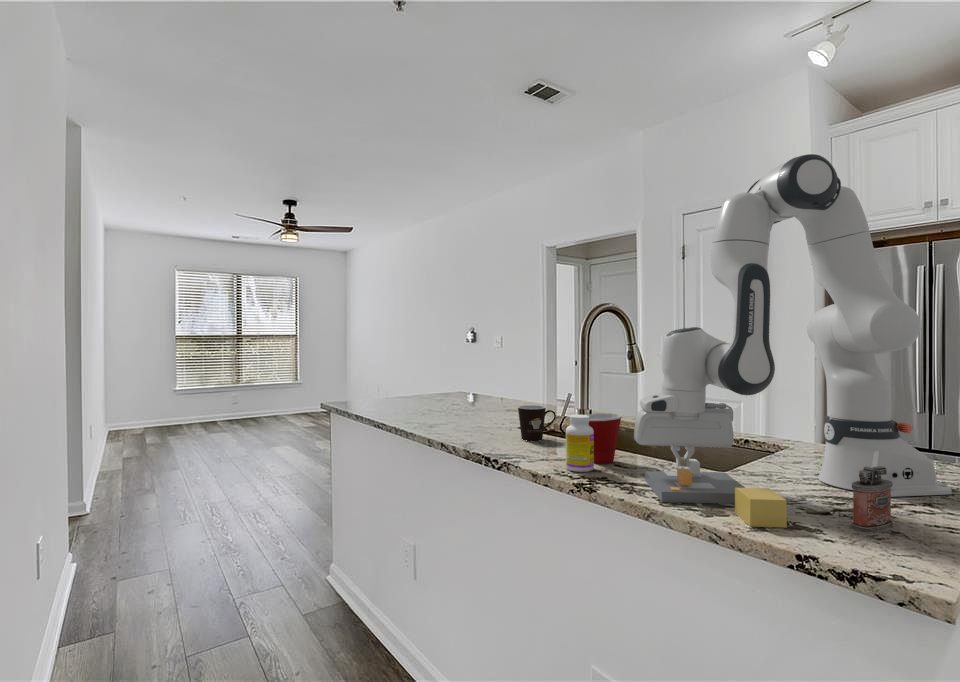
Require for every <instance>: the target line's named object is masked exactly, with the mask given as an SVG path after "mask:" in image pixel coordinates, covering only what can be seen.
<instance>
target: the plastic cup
mask: <svg viewBox="0 0 960 682" xmlns="http://www.w3.org/2000/svg"><path fill="white" fill-rule="evenodd" d="M586 415H587V416H589V417H590V421H589V426H590V427H592V428H593V430H594V464H599V465H610V464H613V463H614V460H615V455H616V450H617V445H618V444H617V443H618V439H619V438H618V437H619V431H620V424H621V421H622V418H623V414H620V413H613V412H611V413H610V412H609V413H608V412H607V413H606V412H603V413H600V412H599V413H590V414H586Z"/></svg>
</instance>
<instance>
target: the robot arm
mask: <svg viewBox="0 0 960 682" xmlns="http://www.w3.org/2000/svg"><path fill="white" fill-rule="evenodd" d="M791 218H792V219H793V218H795V219H796V220H797V221H799V222H800V224H801V225H802V227H803V230H804V233H805V239H806V244H807V247H808V253H809V257H810V262H811V266H812V270H813V276H814V279H815V280H816V282H817V283H818V284H819V285H820V286H821V287H822V288H824V290H825V291H827V293H828V295H829V296H830V298H831V299H832V301H833V303H832V304H830V305H827V306H825V307H823V308H820V309H818V310H816V311H815V312H814V313H812V314H811V316H810V317H809V318H808V321H807V324H806V333H807V335H808V338H809V339H810V341H811V342H812V343H813V344H814V346H815V347H816V348H817V351H818V354H819V359H820V360H821V364H822V368H823V371H824V376H825V381H826V382H825V383H826V415H824V430H823V431H824V434H823V435H824V441H825V446H824V447H825V448H824V455H823V460H822V463H821V467H820V471H819V474H818V476H817V479H818V480H819V481H820V482H823V483H824V484H827V485H829V486H833V487H836V488H841V489H845V490H850V491H853V489H852V483H854V482H856V481H860V477H859V471H861V470H863V468H864V467H871V468H873V467H877V466H883V467H885V468H887V475H882V476H881V477H882V479H885V480H889V481H892V487H891V498H892V497H916V496H919V497H920V496H943V495H946V496H947V495H952V494H953V489H952V488H951V487H950V486H948V485H947V484H945V483H943V482H941V481H938V480H937V473H936V469H935V466H934V463H933V461H932V460H931V459H930V458H929V457H928V456H926V455H925V454H924V453H922V452H921V451H919V450H918V449H916V448H915V447H914V446H913V445H912V444H911V445H910V444H909V443H908V442H906V441H905V440H904V439H903V438H901V433H904V434H911V433H912V432H913V430H914V428H913V426H912V424H910V423H907V422H903V421H902V422H899V423H898V422H897V421H895V420H893V419H892V416H891V415H892V385H891V382H890V380H889V378H888V377H887V376H886V375H885V374H884V373H883V371H881V369H880V366H879V364H878V361H877V358H876V355H882V354H888V353H893V352H897V351H901V350H906V349H907V348H909V347H910V346H911V345H913V344H914V343H915V342H916V340H917V339H918V338H919V335H920V331H921V325H922V324H921V320H920V317H919V314H918V313H917V312H916V310H915V309H913V307H911V306H910V305H908V304H906V303H905V302H904V301H902V299H900V298H899V297H898V296H897V294H896V293H895V292H894V290H893V289H892V288H891V286H890V285H889V283H888V281H887V280H886V278H885V277H884V274H883V273H882V270H881V268H880V266H879V264H878V260H877V259H878V258H877V255H876V252H875V249H874V245H873V239H872V237H871V236H872V235H871V232H870V231H871V230H870V227H869V224H868V220H867V217H866V215H865V211H864V209H863V207H862V204H861V201H860V199H859V198H858V196H857V194H856V192H855V191H854V190H853V189H851V188H850V187H846V186H843V185H842V182H841V179H840V177H838V174H837V171H836V169H835V168H834V166H833V165H832V163H831V162H830V161H829V160H828V159H827V158H825V157H824V156H821V155H819V154H815V153H814V154H803V155H798V156H795V157H793V158H791V159H789V160H788V161H786V162H785V163H782V164H780V165H778V166H776V167H775V168H773V169H771V170H770V171H768V173H767V174H765V175H764V176H763V177H762V178H760V179H758V180H757V181H755V182H754V183H753V184H752V185H751V186H750V187H749V189H748V190H747V192H741V193H737V194H734V195H731V196H730V197H728V198H727V199H726V200H725V201H724V202H723V203H722V205H721V207H720V210H719V212H718V215H717V219H716V224H715V227H714V232H713V237H712V243H711V250H710V268H711V269H710V270H711V273H712V275H713V277H714V279H716V281H718V283H720V284H721V285H723V286H724V287H726V288H727V289H728V290H729V291H730V293H731V294H732V298H733V300H734V301H733V303H734V313H733V333H732V334H733V335H732V339H731V342H729V343H728V342H726V341H723V340H721V339H718V338H716V337H715V336H712V334H711V335H710V334H709V333H707V332H706V331H705V330H703V328H701V327H698V326H696V327H695V326H691V327H687V328H686V327H685V328H683V327H682V328H680V329H679V328H678V329H674V330H671V331H669V332H668V333H667V334H666V336H665V338H664V341H663V347H662V359H661V360H662V361H661V362H662V363H661V364H662V365H661V370H662V374H663V381H662V385H661V393H660V392H659V393H658V394H654V395H650V396H645V397H644V398H641V399H640V401H639V406H640V408H641V409H639V411H638V412H637V414H636V416H635V417H636V418H635V423H634V428H633V429H634V430H633V438H634V441H636V443H637V444H638V445H640V446H663V447H664V446H665V447H668V446H669V447H670V450H671V452H672V453H673V455H674V457H675V464H676V467H677V468H678V467H679V468H680V467H683V468H686V467H689V459H692V456H693V455H694V453H695V452H696V448H695V447H697V448H698V447H701V448H702V447H703V448H704V447H705V448H706V447H708V448H731V447H732V446H733V444H734V442H735V438H734V437H735V436H734V428H733V421H734V410H733V408H732V407H731V406H730V405H727V403H724V402H720V403H714V402H706V400H707V399H706V398H707V397H706V392H707V391H706V388H707V386H708V385H712V386H714V387H715V386H716V387H719V388H721V389H725V390H729V391H731V392H733V393H735V394H738V395H741V396H754V395H757V394H759V393H761V392H763V391H765V389H767V388H768V387H769V386H770V384H771V382H772V381H773V379H774V377H775V371H776V365H775V360H774V355H773V353H772V350H771V345H770V344H771V343H770V321H771V320H770V319H771V318H770V317H771V316H770V315H771V281H770V276H769V272H768V271H769V270H768V269H769V268H768V261H769V260H768V259H769V252H770V251H769V250H770V249H769V248H770V242H771V231H772V228H773V226H774V224H777V223H780V222H783V221H786V220H788V219H791ZM681 447H684V448H685V450H686V453H685V454H684V455H683V456H681V455H680V453H679V452H680V451H681Z"/></svg>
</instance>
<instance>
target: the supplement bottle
mask: <svg viewBox="0 0 960 682" xmlns="http://www.w3.org/2000/svg"><path fill="white" fill-rule="evenodd" d="M587 415H588V414H571V415H570V416H569V423H570V424H569V425H568V426H567V427H566V429H565V468H566V469H567V470H569V471H571V472H575V473H588V472H592V471H593V470H594V469H595V463H594V430H593V428H592V427H590V426H589V421H590V417H589V416H587Z"/></svg>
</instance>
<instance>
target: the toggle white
mask: <svg viewBox="0 0 960 682" xmlns="http://www.w3.org/2000/svg"><path fill="white" fill-rule="evenodd" d="M685 469H688V470H689V471H690V472H692V474H700V472H701V462H700V461H698V460H697V459H695V458H690V459H689V467H685Z"/></svg>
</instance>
